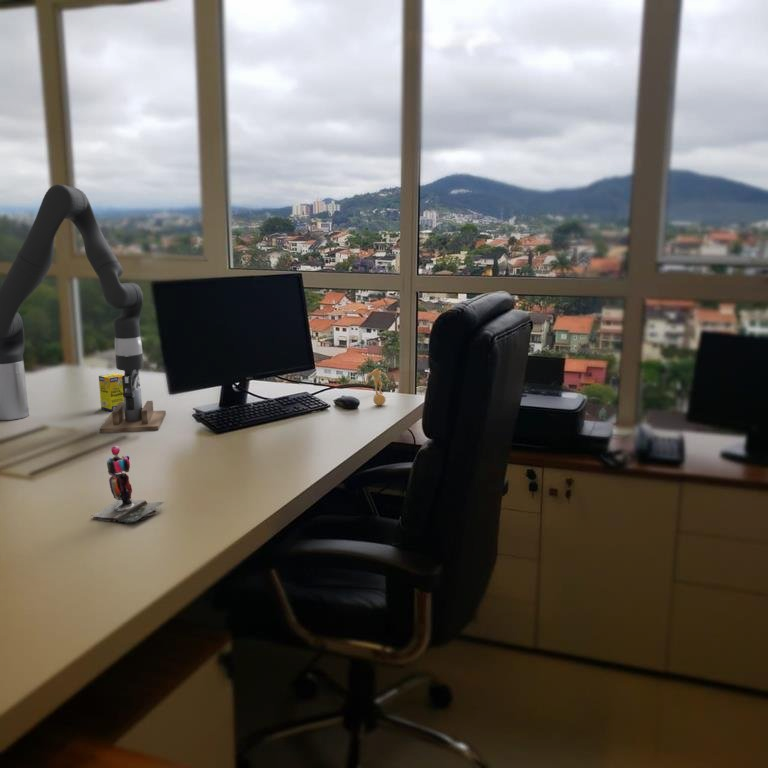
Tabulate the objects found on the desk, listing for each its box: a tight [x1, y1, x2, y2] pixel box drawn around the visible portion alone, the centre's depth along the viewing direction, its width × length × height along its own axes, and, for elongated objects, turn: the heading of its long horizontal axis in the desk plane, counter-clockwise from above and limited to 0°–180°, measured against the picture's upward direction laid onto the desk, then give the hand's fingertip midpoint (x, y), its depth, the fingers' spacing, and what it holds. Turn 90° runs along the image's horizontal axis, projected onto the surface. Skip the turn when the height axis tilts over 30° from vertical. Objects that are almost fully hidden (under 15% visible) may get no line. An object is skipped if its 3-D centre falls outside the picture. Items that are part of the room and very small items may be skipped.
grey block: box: [124, 387, 143, 421], centre depth 217 cm, size 5×5×9 cm
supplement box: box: [98, 372, 124, 413], centre depth 234 cm, size 6×6×11 cm
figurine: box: [365, 367, 391, 406], centre depth 239 cm, size 8×6×12 cm
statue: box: [90, 445, 165, 525], centre depth 149 cm, size 11×9×15 cm
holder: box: [99, 400, 167, 434], centre depth 218 cm, size 16×18×5 cm
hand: (133, 406), depth 217 cm, fingers open, 8 cm apart
